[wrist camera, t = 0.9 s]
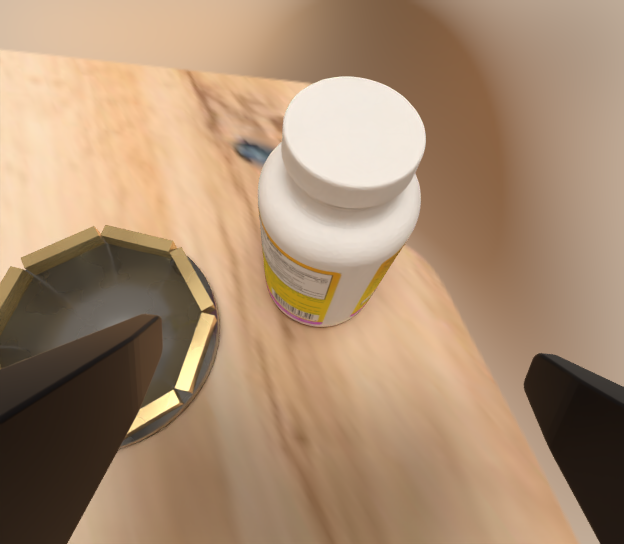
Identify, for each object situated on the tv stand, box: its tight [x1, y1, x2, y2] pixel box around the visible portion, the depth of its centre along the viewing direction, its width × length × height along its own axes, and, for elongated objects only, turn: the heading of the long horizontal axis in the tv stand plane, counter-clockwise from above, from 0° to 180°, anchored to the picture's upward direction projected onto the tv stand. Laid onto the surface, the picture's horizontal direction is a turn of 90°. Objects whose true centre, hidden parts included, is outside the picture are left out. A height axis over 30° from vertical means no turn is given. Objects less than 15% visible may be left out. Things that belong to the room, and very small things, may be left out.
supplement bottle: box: [258, 77, 426, 327], centre depth 18 cm, size 7×7×13 cm
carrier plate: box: [0, 225, 220, 448], centre depth 21 cm, size 12×12×2 cm
